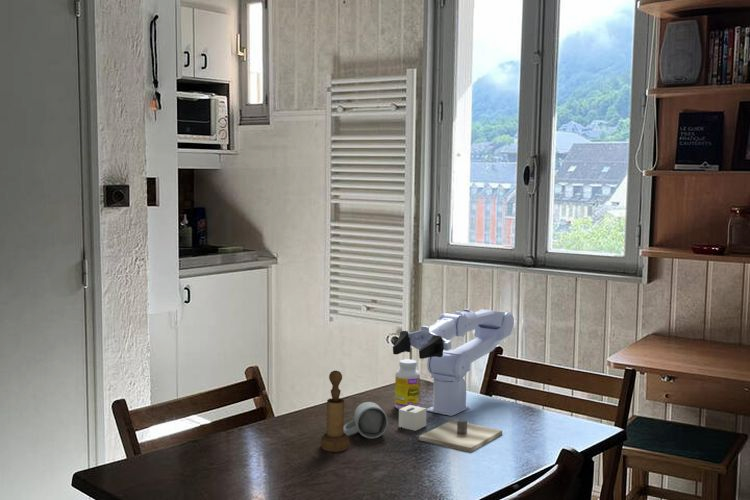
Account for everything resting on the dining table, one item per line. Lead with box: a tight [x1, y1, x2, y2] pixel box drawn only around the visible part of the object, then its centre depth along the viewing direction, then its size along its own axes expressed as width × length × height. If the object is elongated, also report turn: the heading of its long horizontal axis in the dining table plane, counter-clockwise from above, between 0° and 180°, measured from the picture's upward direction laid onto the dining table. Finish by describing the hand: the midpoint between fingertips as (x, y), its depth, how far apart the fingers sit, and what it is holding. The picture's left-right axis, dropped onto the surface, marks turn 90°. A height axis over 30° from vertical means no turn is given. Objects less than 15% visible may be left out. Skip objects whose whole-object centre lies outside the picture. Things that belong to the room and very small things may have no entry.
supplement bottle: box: [394, 358, 421, 410], centre depth 223 cm, size 7×7×13 cm
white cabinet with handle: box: [398, 405, 427, 431], centre depth 207 cm, size 5×5×5 cm
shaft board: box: [418, 419, 503, 453], centre depth 199 cm, size 16×14×4 cm
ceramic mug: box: [343, 401, 389, 440], centre depth 201 cm, size 11×8×8 cm
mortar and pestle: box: [320, 370, 350, 453], centre depth 190 cm, size 7×6×18 cm
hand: (407, 352), depth 203 cm, fingers open, 7 cm apart
